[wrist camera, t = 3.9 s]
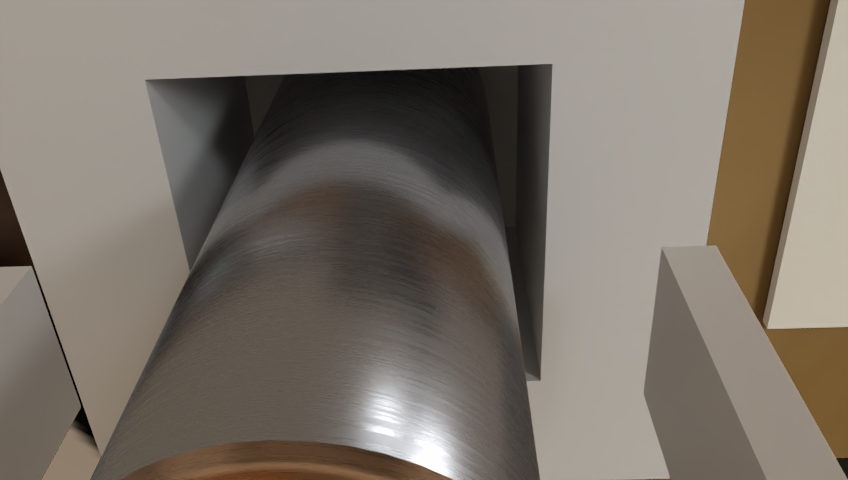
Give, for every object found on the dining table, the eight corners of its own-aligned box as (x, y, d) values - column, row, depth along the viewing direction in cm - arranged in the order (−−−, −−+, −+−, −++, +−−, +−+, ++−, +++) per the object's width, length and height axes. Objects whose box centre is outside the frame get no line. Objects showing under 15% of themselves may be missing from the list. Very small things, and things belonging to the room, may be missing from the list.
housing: (-26, -313, 17) (-347, -358, 10) (755, -358, 16) (987, -439, 9) (159, 361, 26) (60, 578, 19) (660, 349, 25) (742, 568, 19)
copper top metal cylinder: (265, 16, 18) (-70, 523, 6) (487, 7, 18) (583, 511, 6) (293, 210, 21) (95, 833, 9) (488, 203, 21) (557, 831, 9)
